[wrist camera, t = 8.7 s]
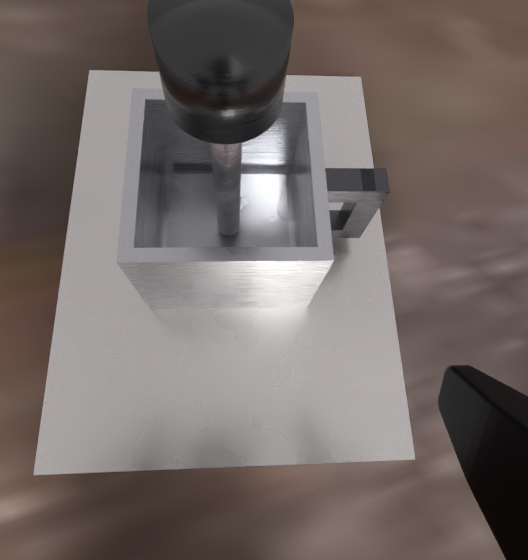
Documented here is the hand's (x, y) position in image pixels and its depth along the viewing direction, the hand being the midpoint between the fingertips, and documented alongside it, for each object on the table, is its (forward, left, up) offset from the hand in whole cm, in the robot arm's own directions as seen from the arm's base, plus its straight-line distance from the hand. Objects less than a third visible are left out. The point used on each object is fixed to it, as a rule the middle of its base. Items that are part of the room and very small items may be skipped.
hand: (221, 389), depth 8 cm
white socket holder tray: (+3, -7, -10) cm, 13 cm away
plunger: (+3, -7, -9) cm, 12 cm away
